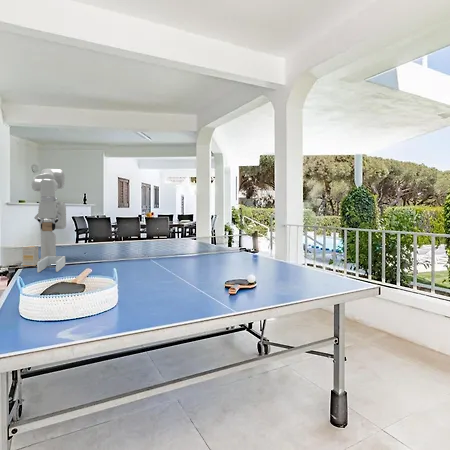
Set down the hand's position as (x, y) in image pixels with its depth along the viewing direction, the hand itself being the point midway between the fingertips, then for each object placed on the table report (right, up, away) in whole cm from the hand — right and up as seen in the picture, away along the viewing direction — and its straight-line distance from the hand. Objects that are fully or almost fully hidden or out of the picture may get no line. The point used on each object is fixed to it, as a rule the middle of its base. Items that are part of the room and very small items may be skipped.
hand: (48, 229), depth 206 cm
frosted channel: (-3, -25, +10) cm, 27 cm away
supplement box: (-20, -24, +17) cm, 36 cm away
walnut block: (0, -1, 0) cm, 1 cm away
